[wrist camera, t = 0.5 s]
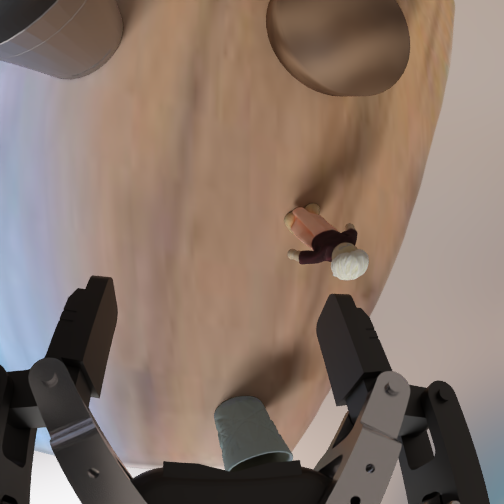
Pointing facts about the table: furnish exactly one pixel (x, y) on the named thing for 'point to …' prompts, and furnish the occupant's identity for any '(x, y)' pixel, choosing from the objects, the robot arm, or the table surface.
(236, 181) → the table surface
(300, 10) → the walnut plinth
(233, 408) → the grey-green cup
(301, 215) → the grandmother figurine
